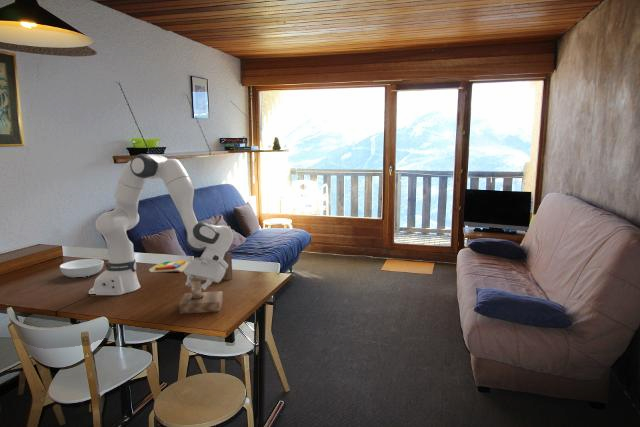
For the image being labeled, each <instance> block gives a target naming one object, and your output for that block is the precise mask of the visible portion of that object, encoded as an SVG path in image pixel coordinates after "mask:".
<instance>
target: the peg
mask: <svg viewBox="0 0 640 427" xmlns="http://www.w3.org/2000/svg"><path fill="white" fill-rule="evenodd" d="M201 286H202V283H201V280H194V281H192V280H191V285H190V287H191V293H192V299H193V300H201V298H202V296H201V292H202V289H201Z"/></svg>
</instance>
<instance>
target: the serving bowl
mask: <svg viewBox="0 0 640 427" xmlns="http://www.w3.org/2000/svg"><path fill="white" fill-rule="evenodd" d="M104 263H105V262H104V260H103V259H99V258H85V259H76V260H71V261H67V262H63V263H62V264H60V265H59V270H60V271H61V273H62V274H63V275H65V276H66V277H69V278H75V277H83V278H87V277H86V276H88V277H91V276H94V275H97V274H98V273H99V272H101V271H102V269H103V267H104V265H105V264H104ZM90 275H91V276H90Z"/></svg>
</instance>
